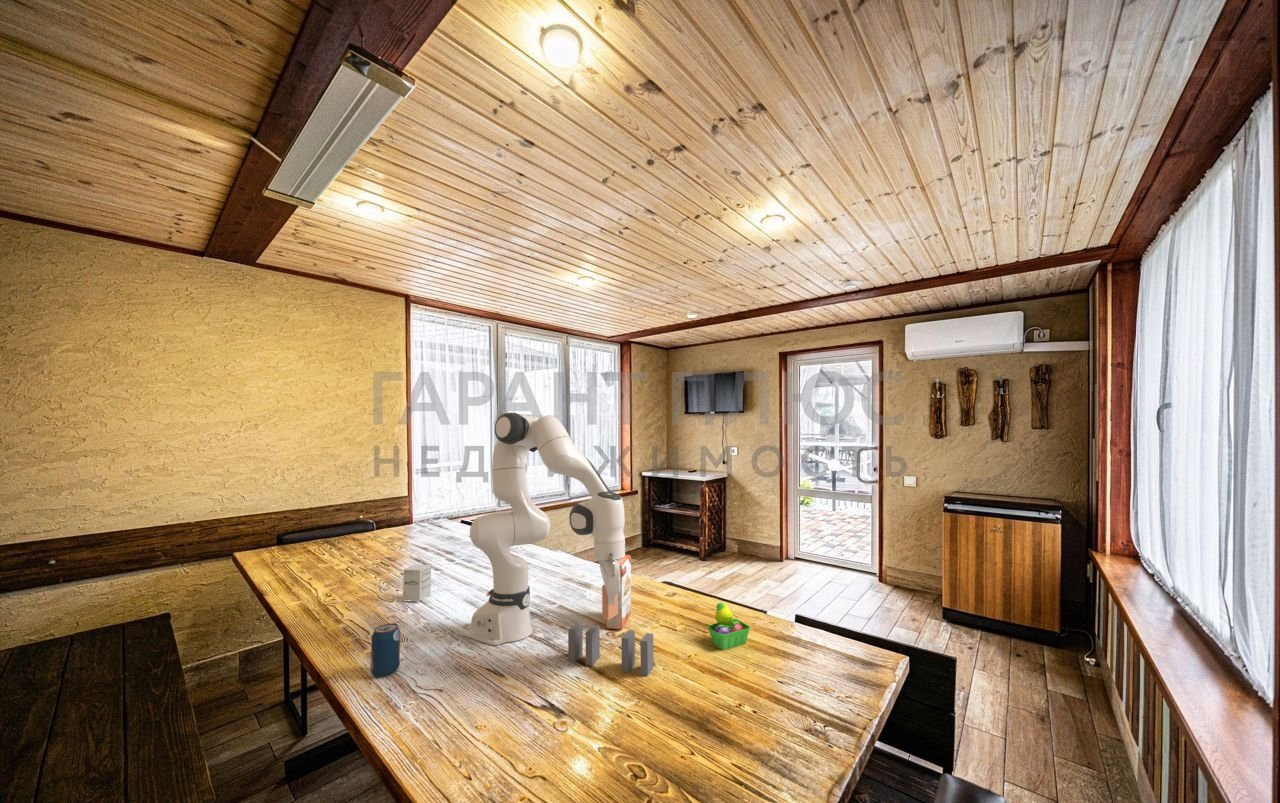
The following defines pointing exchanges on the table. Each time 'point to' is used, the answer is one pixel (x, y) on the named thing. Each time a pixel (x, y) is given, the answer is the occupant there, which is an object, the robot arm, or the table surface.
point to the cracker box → (623, 596)
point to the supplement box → (417, 582)
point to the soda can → (385, 650)
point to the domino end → (647, 654)
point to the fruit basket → (727, 629)
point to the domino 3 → (608, 606)
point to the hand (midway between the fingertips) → (610, 599)
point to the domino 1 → (575, 642)
